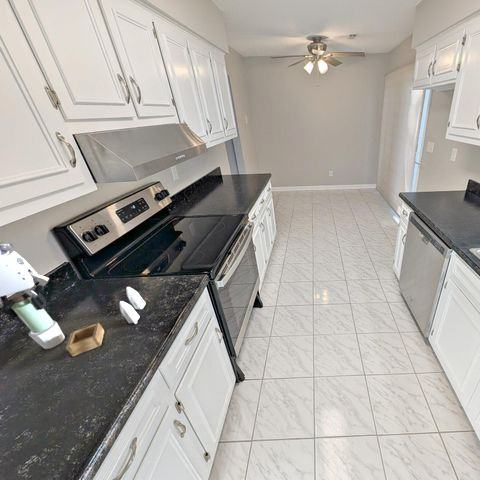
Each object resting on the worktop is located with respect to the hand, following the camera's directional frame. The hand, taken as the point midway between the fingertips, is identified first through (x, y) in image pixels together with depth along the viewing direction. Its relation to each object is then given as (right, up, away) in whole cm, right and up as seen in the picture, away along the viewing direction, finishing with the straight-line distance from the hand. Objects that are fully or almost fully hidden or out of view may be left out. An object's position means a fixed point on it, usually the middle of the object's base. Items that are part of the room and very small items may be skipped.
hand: (29, 310), depth 69 cm
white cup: (-13, -16, +19) cm, 28 cm away
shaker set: (+9, -9, +29) cm, 32 cm away
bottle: (0, -5, +3) cm, 6 cm away
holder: (+1, -16, +17) cm, 24 cm away
